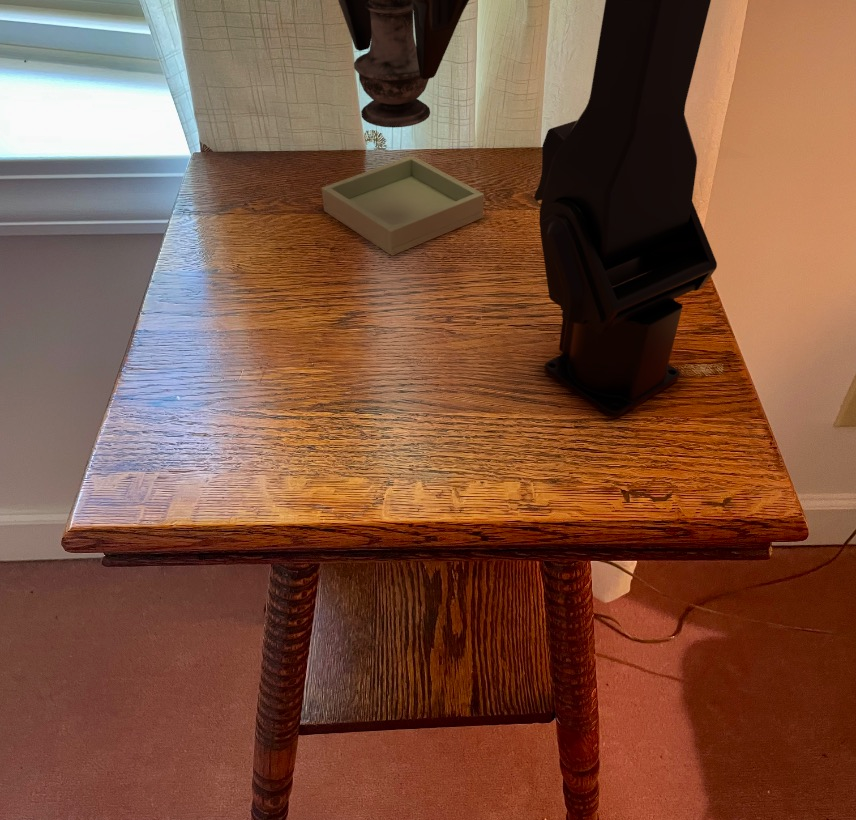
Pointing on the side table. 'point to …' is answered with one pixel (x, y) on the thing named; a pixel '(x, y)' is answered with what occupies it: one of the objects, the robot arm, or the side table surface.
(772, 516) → the side table surface
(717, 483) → the side table surface
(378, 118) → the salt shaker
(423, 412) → the side table surface
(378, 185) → the tray
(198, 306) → the side table surface
